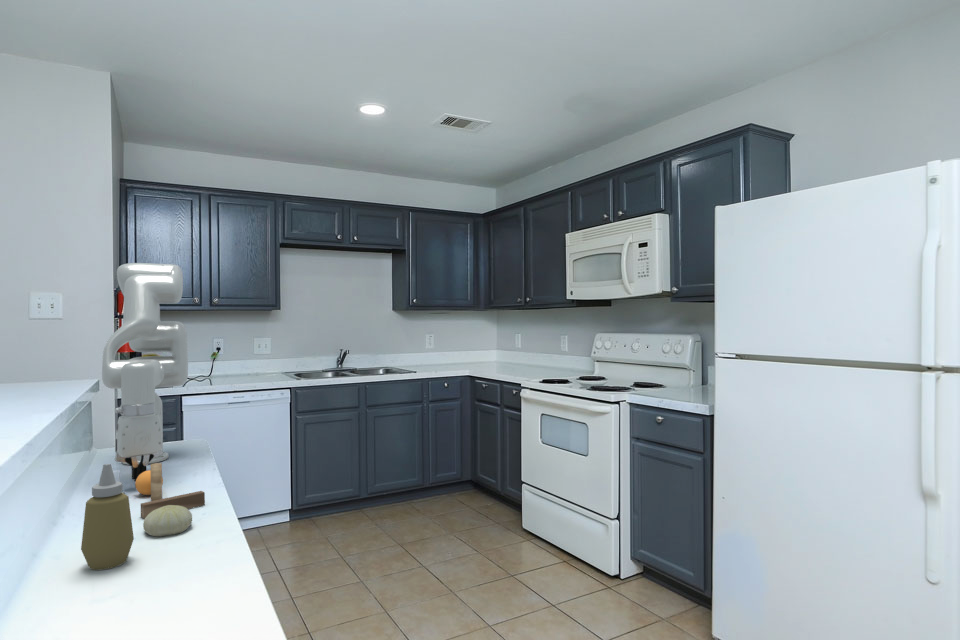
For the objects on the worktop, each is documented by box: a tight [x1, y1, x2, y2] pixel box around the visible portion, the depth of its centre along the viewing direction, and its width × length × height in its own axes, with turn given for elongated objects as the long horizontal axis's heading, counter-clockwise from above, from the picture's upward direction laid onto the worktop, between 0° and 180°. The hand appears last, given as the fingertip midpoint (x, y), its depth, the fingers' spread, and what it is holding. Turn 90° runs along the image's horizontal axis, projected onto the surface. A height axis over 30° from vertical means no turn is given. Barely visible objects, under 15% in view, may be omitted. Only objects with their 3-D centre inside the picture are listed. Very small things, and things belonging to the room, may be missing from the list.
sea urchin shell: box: [142, 505, 193, 538], centre depth 123 cm, size 9×8×8 cm
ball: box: [134, 469, 164, 496], centre depth 147 cm, size 6×6×6 cm
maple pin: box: [150, 462, 163, 501], centre depth 144 cm, size 2×2×8 cm
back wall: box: [140, 490, 206, 520], centre depth 135 cm, size 2×13×3 cm, turn 135°
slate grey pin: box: [112, 469, 121, 482], centre depth 137 cm, size 2×2×8 cm
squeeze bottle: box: [80, 463, 135, 571], centre depth 107 cm, size 8×8×18 cm
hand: (139, 481), depth 153 cm, fingers closed
